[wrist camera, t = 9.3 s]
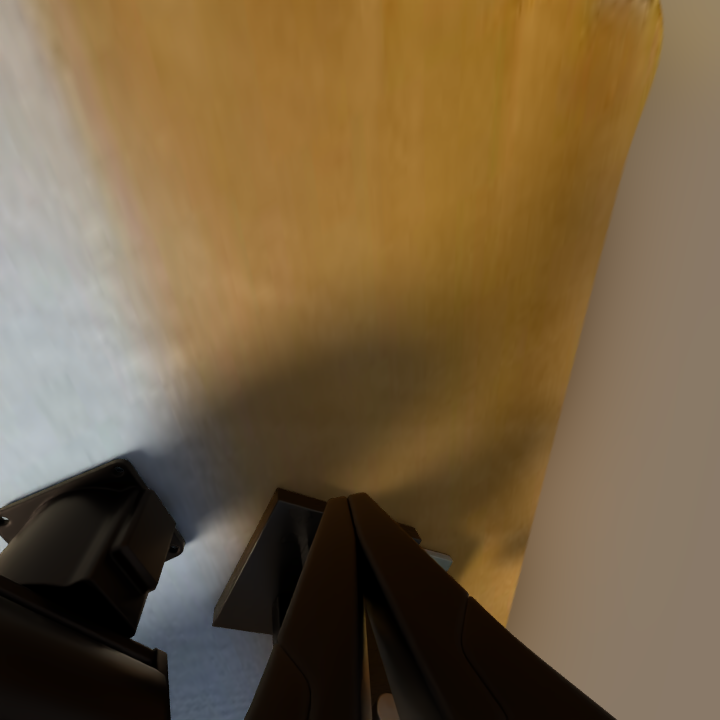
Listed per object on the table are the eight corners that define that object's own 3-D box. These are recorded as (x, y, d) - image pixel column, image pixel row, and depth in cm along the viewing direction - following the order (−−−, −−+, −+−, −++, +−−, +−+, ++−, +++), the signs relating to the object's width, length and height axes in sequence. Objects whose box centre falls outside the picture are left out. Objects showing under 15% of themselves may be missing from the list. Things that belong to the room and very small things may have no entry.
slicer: (415, 527, 25) (536, 746, 14) (353, 630, 26) (421, 906, 15) (277, 487, 21) (295, 736, 10) (213, 608, 23) (170, 945, 12)
